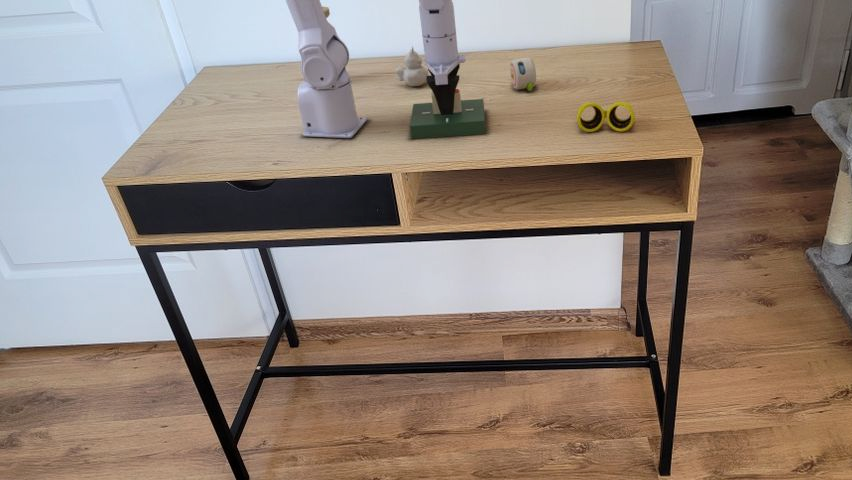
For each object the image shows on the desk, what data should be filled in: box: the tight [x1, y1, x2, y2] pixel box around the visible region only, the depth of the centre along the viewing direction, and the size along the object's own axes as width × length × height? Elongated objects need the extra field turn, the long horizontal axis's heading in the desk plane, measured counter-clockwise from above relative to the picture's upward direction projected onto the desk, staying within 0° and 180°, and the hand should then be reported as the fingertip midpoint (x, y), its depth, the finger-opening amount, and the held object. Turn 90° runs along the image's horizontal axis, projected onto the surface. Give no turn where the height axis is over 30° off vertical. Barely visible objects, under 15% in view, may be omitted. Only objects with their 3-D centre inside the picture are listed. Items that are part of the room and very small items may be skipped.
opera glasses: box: [576, 101, 636, 133], centre depth 129 cm, size 10×5×5 cm, turn 84°
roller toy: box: [509, 57, 537, 92], centre depth 146 cm, size 4×6×6 cm
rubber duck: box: [394, 46, 429, 87], centre depth 150 cm, size 5×7×8 cm
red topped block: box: [430, 88, 462, 114], centre depth 132 cm, size 5×2×4 cm, turn 92°
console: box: [409, 98, 486, 140], centre depth 134 cm, size 13×10×3 cm
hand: (447, 109), depth 133 cm, fingers open, 4 cm apart
